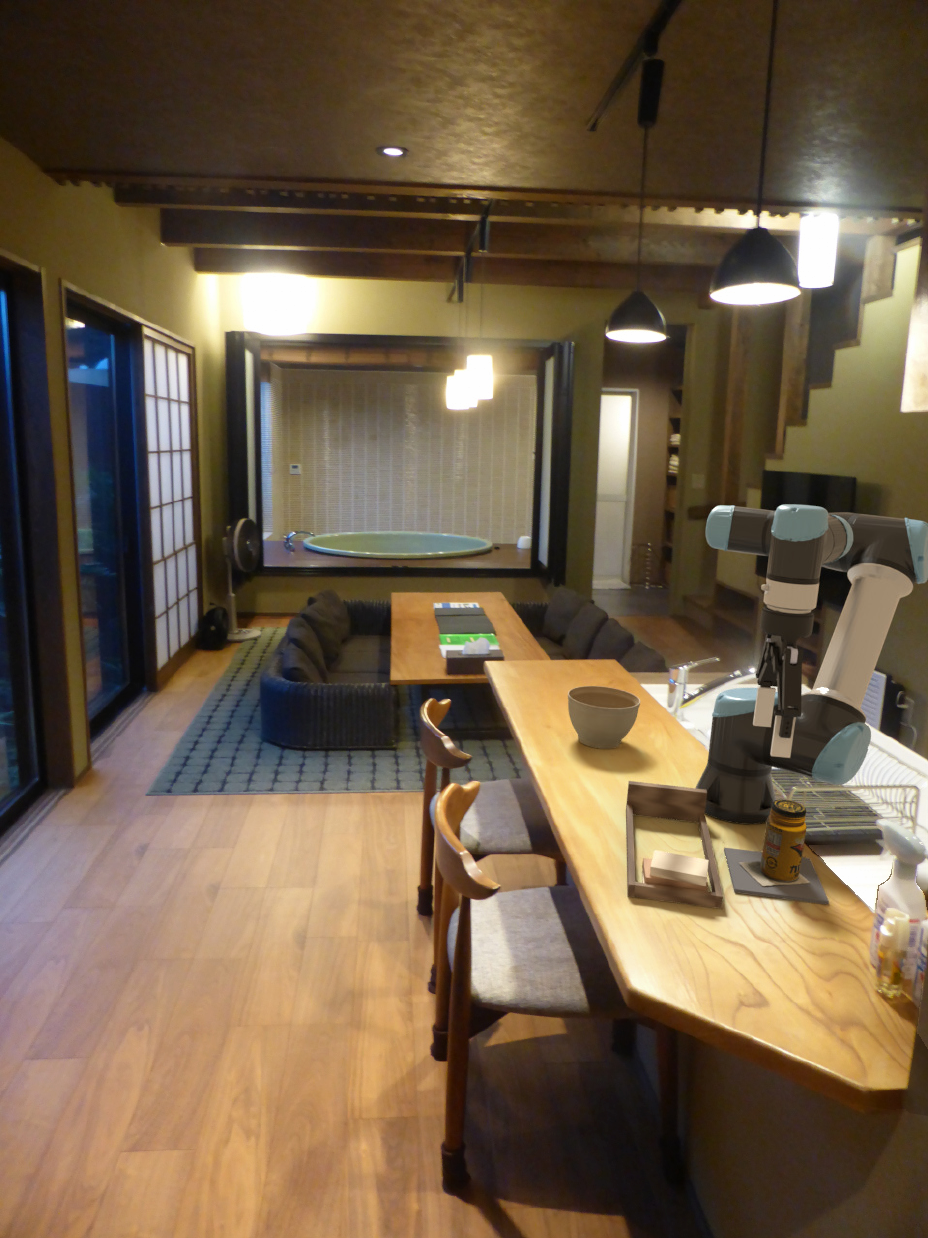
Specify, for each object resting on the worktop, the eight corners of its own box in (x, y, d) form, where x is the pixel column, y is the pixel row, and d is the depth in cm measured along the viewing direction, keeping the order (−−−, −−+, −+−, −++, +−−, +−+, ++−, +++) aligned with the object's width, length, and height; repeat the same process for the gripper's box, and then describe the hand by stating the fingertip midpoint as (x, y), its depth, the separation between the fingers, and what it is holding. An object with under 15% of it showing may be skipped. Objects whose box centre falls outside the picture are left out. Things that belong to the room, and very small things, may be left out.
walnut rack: (702, 820, 162) (706, 789, 160) (721, 908, 132) (726, 872, 131) (625, 810, 164) (628, 780, 163) (627, 896, 134) (631, 860, 133)
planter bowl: (604, 761, 188) (608, 712, 185) (549, 738, 200) (553, 692, 197) (650, 745, 198) (655, 699, 196) (595, 725, 210) (599, 681, 208)
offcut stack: (705, 883, 140) (708, 856, 139) (708, 905, 133) (711, 878, 132) (641, 873, 142) (643, 847, 141) (640, 895, 135) (643, 868, 134)
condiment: (810, 883, 140) (820, 813, 137) (762, 887, 138) (772, 816, 135) (784, 861, 147) (794, 794, 144) (738, 864, 145) (747, 796, 142)
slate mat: (809, 861, 148) (809, 858, 148) (828, 904, 135) (828, 901, 135) (723, 850, 150) (724, 847, 150) (734, 892, 137) (734, 889, 137)
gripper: (747, 590, 145) (732, 712, 150) (781, 624, 121) (761, 768, 126) (794, 594, 144) (777, 716, 149) (837, 628, 120) (816, 773, 125)
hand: (770, 740), depth 138 cm, fingers open, 13 cm apart
